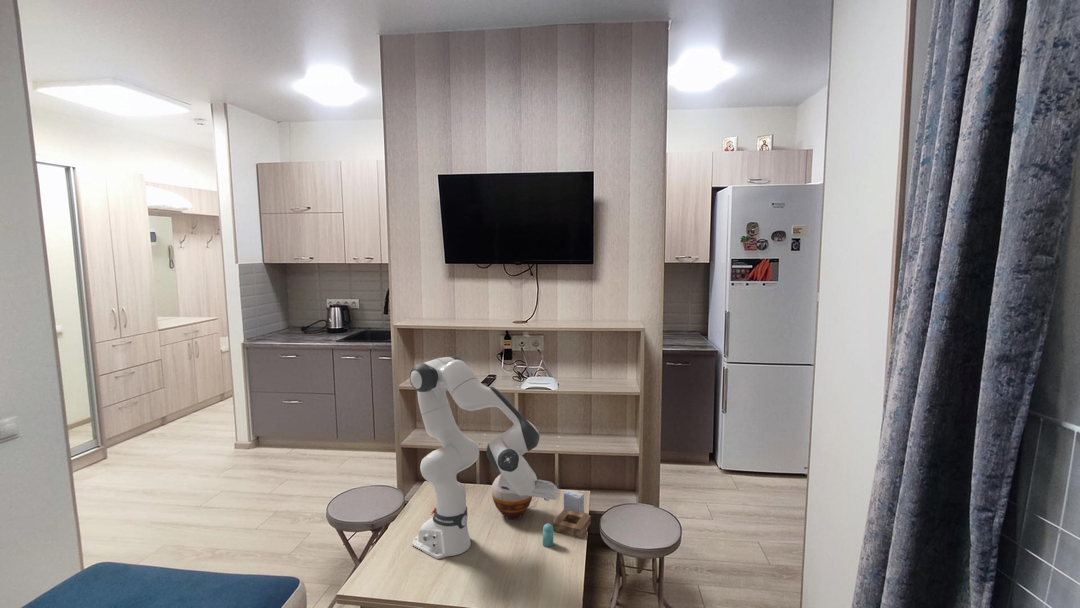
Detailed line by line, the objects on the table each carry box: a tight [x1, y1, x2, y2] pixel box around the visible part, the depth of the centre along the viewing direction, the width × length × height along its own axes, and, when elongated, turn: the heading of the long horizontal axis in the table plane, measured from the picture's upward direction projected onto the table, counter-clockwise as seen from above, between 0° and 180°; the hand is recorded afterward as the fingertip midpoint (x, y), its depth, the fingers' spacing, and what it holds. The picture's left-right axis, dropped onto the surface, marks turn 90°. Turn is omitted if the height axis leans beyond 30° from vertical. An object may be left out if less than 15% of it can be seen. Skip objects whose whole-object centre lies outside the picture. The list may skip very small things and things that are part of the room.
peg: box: [542, 523, 554, 548], centre depth 179 cm, size 4×4×8 cm
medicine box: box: [563, 489, 585, 514], centre depth 203 cm, size 8×4×9 cm, turn 58°
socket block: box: [552, 508, 592, 539], centre depth 192 cm, size 12×12×4 cm
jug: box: [491, 473, 533, 520], centre depth 202 cm, size 20×18×30 cm
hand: (535, 496), depth 167 cm, fingers open, 8 cm apart
